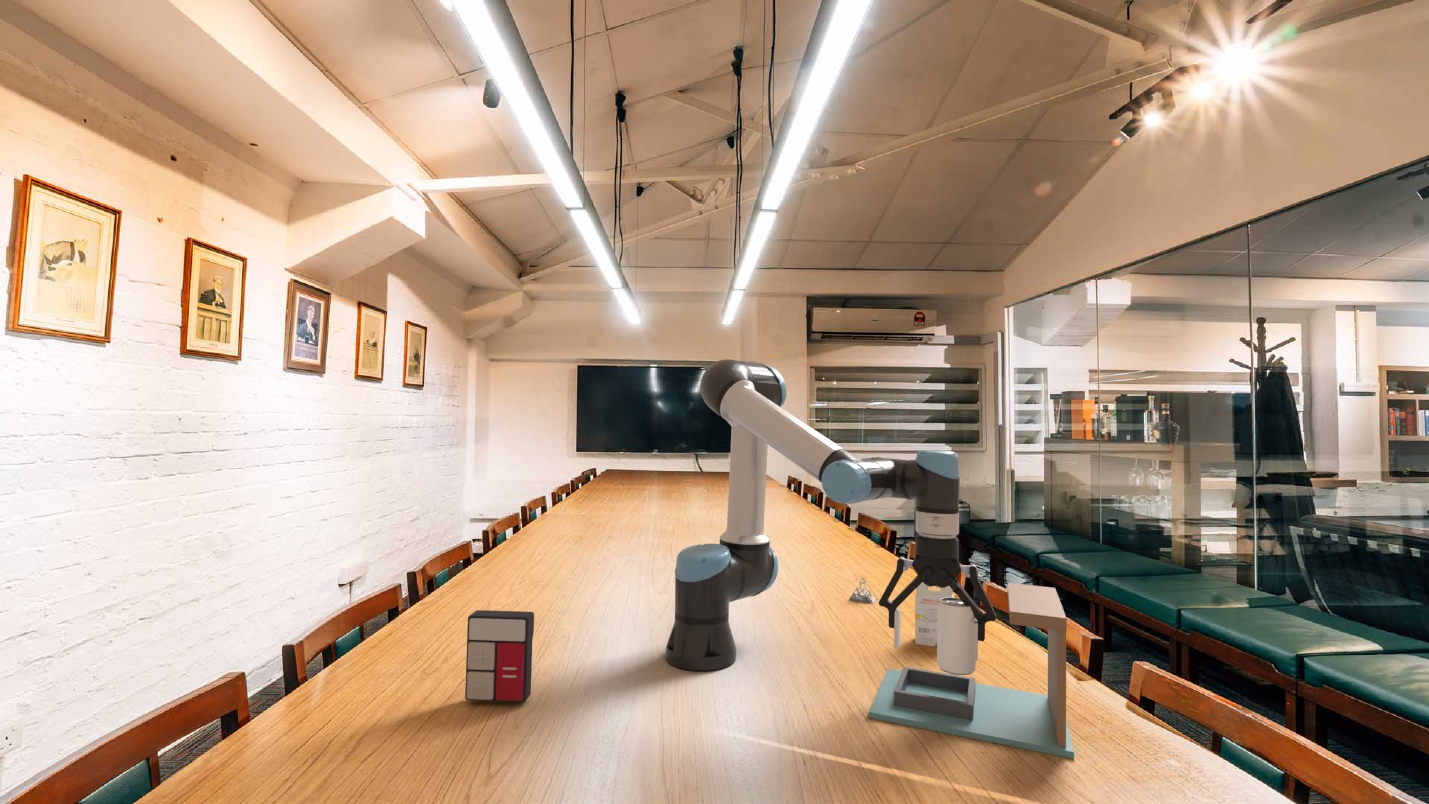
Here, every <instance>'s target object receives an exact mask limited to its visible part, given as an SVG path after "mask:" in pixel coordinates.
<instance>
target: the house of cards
mask: <svg viewBox="0 0 1429 804" xmlns="http://www.w3.org/2000/svg"><path fill="white" fill-rule="evenodd" d="M862 584H863V585H864V588H862ZM876 600H877V599H876V597H874V595H873V594H872V592H871V590H870V589H867V581H866V579H865V577H862V578H861V579H860V580H859V587H856V588H855V589H854V590H853V593H852V594H851V596H850V597H849V598H848V601H853V602H857V603H858V602H859V603H866V604H872V605H873V604H875V603H876V602H877V601H876Z"/></svg>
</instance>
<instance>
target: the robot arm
mask: <svg viewBox="0 0 1429 804" xmlns="http://www.w3.org/2000/svg"><path fill="white" fill-rule="evenodd" d="M784 379H785V378H784V377H783V375H782V374H781V373H780V372H779V371H778V370H777V369H776V368H775V367H773V366H771V365H768V364H765V363H762V362H752V361H742V360H735V359H728V358H726V359H721V360H717V361H715V362H713V363H711V364H710V365H709V366H708V367H707V368H706V369H705V371H704V372H703V374H702V376H701V380H700V383H699V384H700V385H699V389H700V394H701V398H702V399H703V401H704V403H705V405H707V406H708V408H710V410H712V411H713V412H714V413H716V415H718V416H719V417H721V418H722V419H724V420H725V421H726V422H727V423H728V424H729V425H730V427H731V433H730V436H731V437H730V452H729V453H730V454H729V455H730V457H729V475H728V476H729V477H728V479H729V481H728V498H727V518H726V529H725V531H723V533H722V534H721V535H720V536H719V543H704V544H703V543H702V544H700V543H699V544H693V545H690V546H688V547H685V548H684V549H682V550H681V551H680V552H679V553H678V554H677V555H676V564H675V570H674V576H675V577H674V580H675V582H674V584H675V585H674V586H675V587H674V600H675V601H674V620H673V621H674V622H673V625H672V628H671V631H670V634H669V636H668V640H667V643H666V647H665V660H666V662H667V663H669V664H670V665H672V666H674V667H677V668H679V667H680V669H684V670H690V671H715V670H720V669H724V668H727V667H729V666H731V665H733V664H734V663H735V662H736V660H737V646H736V641H735V639H734V635H733V632H732V629H731V626H730V622H729V621H730V620H729V615H730V612H729V611H730V607H729V606H730V603H733V602H735V601H738V600H742V599H745V598H749V597H756V596H758V595H760V594H762V593H763V592H766V591H767V590H769V589H770V588H771V587H772V585H774V583H775V581H776V579H777V578H778V574H779V573H778V572H779V560H778V556H777V555H776V554H775V550H774V549H773V548H772V547H771V545H770V544H771V542H770V541H771V539H770V537H769V536H768V535H767V534H766V533H765V531H764V530H765V529H764V528H765V511H766V509H765V508H766V490H767V489H766V488H767V468H768V465H767V464H768V449H769V447H768V446H770V447H771V448H773V450H775V451H776V452H778V453H780V454H781V455H782V456H783V457H785V458H787V459H788V460H789V461H791V462H792V463H794V464H795V465H796V466H797V467H799V468H800V469H802V470H803V471H805V472H806V473H808V475H810V476H812V478H814V479H816V480H817V481H818V482H820V483H821V486H822V489H823V491H824V493H825V495H826V496H827V498H829V499H830V500H831V501H833V502H834V503H839V504H848V505H852V504H858V503H862V502H866V501H874V500H879V499H889V498H891V499H903V500H913V501H915V531H916V532H917V534H916V535H915V539H914V540H915V541H914V542H915V546H914V549H915V551H914V552H915V553H914V559H908V558H905V557H904V556H900V557H899V558H898V559H897V563H896V570H895V571H894V574H893V575H892V577H891V579H890V581H889V582H888V585H887V586H886V588H885V590H884V592H883V594H882V595H881V597H880V599H879V601H878V605H879V606H880V607H883V608H886V609H887V610H888V611H887V612H888V626H889V628H890V629H894V631H893V633H894V634H893V637H894V638H893V648H894V649H899V648H900V646H901V624H902V622H901V621H902V620H901V619H902V617H901V614H902V613H901V612H902V610H901V609H900V608H898V607H899V606H900V605H901V604H902V603H903V602H904V601H905V600H906V599H908V597H909V596H910V595H911V594H912V593H914V591H916V588H917V587H918V586H919V585H920V584H921V583H922V582H923V583H924V584H926V585H927V586H938V587H940V588H945V587H948V586H950V587H951V589H952V590H953V593H955V594H956V595H957V598H960V599H961V601H962V602H963V603H964V604H965V606H967V605H971V606H970V607H971V610H972V612H973V614H974V617H975V623H974V661H976V662H978V659H979V658H978V656H979V652H978V651H979V642H985V639H986V637H985V636H986V624H987V623H989V622H995V621H996V620H997V613H996V611H995V609H994V607H993V604H992V603H991V601H990V598H989V597H988V594H987V592H986V590H985V588H984V586H983V585H982V582H981V580H980V577H979V575H978V566H977V564H975V563H971V564H969V565H966V564H962V565H961V563H960V562H959V558H960V557H959V556H960V555H959V553H960V552H959V547H960V545H959V543H960V540H959V539H958V537H957V536H958V535H959V534H960V508H959V507H960V484H961V483H960V479H961V474H960V459H959V456H958V454H957V453H956V452H955V451H951V450H950V451H949V450H933V449H931V450H929V449H928V450H927V449H925V450H924V449H923V450H922V449H921V450H919V451H917V453H916V458H915V459H898V458H890V457H889V458H887V457H885V458H884V457H881V456H876V457H873V456H871V457H863V458H861V459H860V458H858V457H857V456H855V455H854V454H851V452H849V451H847V450H845V449H844V448H843V447H841V446H840V445H838V444H837V443H835V442H834V441H832V440H831V439H830V438H828V437H826V436H825V435H823V434H822V433H821V432H819V431H817V430H816V429H814V428H812V427H811V426H809V425H808V424H806V423H805V422H803V421H802V420H800V419H799V418H797V417H796V416H794V415H793V414H791V413H790V412H788V410H785V409H784V408H782V406H784V405H785V402H786V399H787V385H786V382H785V380H784ZM910 567H911V568H912V569H913V570H914V572H915V573H916V576H915V577H914V578H913V579H912V581H911V582H910V583H908V584H907V585H906V587H905V588H903V589H902V590H901V592H900V593H899V594H897V596H896V597H895V598H894V599H893V600H890V597H891V595H892V593H893V592H894V590H895V588H896V586H897V585H898V582H899V581H900V579H901V577H902V575H903V574H904V572H905V571H908V570H909V568H910ZM961 573H963V574H964V575H965V577H966V578H967V579H970V583H971V585H972V586H973V589H974V591H975V593H976V595H977V597H978V600H979V601H980V604H981V605H982V607H983V610H984V611H985V612H983V611H982V610H981V608H980V607H979V606H978V605H977V604H976V603H975V601H974V600H973V598H971V596H970V595H969V593H968V592H967V591H966V590H965V589H964V587H963V586H962V584H961V583H960V580H958V579H957V577H958V576H959V575H960V574H961ZM940 588H939V589H940Z"/></svg>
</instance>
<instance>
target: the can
mask: <svg viewBox="0 0 1429 804" xmlns="http://www.w3.org/2000/svg"><path fill="white" fill-rule="evenodd" d="M970 606H971V605H967V606H965V604H964V603H963V602H962V601H961V599H960V598H959V597H954V598H942V599H940V604H939V606H938V608H937V647H936V657H937V658H936V664H937V667H938V668H939V669H940V670H941V671H942V672H943V673H944V672H945V673H946V674H952V675H958V676H968V675H971V674H974V672H975V671H976V667H977V666H976V662H977V661H974V623H975V619H976V618H975V617H974V614H973V612H972V610H971V607H970Z"/></svg>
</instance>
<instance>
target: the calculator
mask: <svg viewBox="0 0 1429 804" xmlns="http://www.w3.org/2000/svg"><path fill="white" fill-rule="evenodd" d="M534 629H535V613H534V612H533V611H524V610H523V611H520V610H519V611H517V610H489V609H488V610H487V609H485V610H481V609H477V610H475V611H474V612H472V613H471V614H470V615H468V617H467V632H466V633H467V636H466V661H465V663H466V665H465V667H466V668H465V690H464V691H465V692H464V693H465V694H464V695H465V696H464V698H465V700H466V701H472V702H473V701H476V702H478V701H479V702H503V703H505V702H506V703H507V702H508V703H525V702H526V701H527V700H528V699H529V698H530V696H531V693H532V668H533V666H532V665H533V639H534Z"/></svg>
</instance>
